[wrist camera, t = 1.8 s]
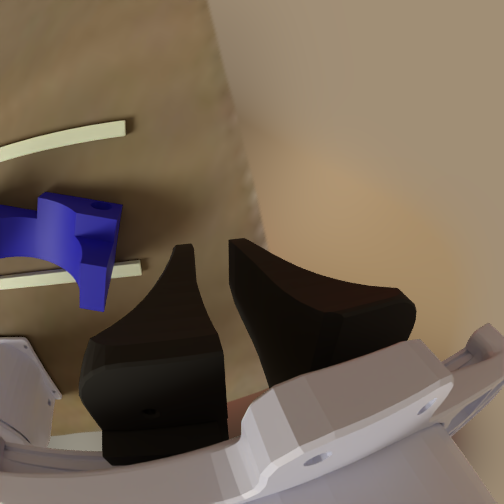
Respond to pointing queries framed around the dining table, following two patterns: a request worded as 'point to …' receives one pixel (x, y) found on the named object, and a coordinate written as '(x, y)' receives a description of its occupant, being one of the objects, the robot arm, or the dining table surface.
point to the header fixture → (48, 143)
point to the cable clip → (67, 240)
